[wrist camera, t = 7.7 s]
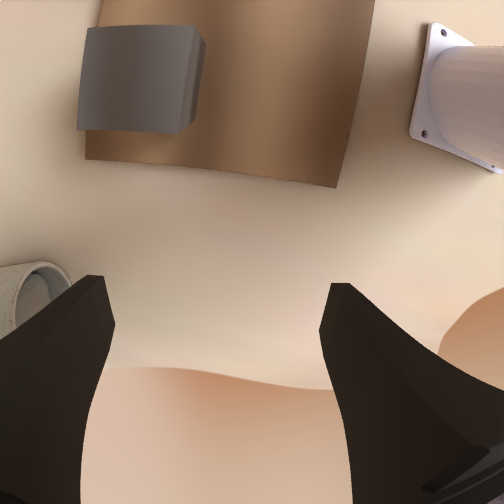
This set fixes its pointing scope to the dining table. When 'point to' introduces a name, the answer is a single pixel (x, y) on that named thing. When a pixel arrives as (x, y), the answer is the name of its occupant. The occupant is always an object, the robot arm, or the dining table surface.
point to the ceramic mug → (28, 291)
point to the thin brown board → (225, 84)
